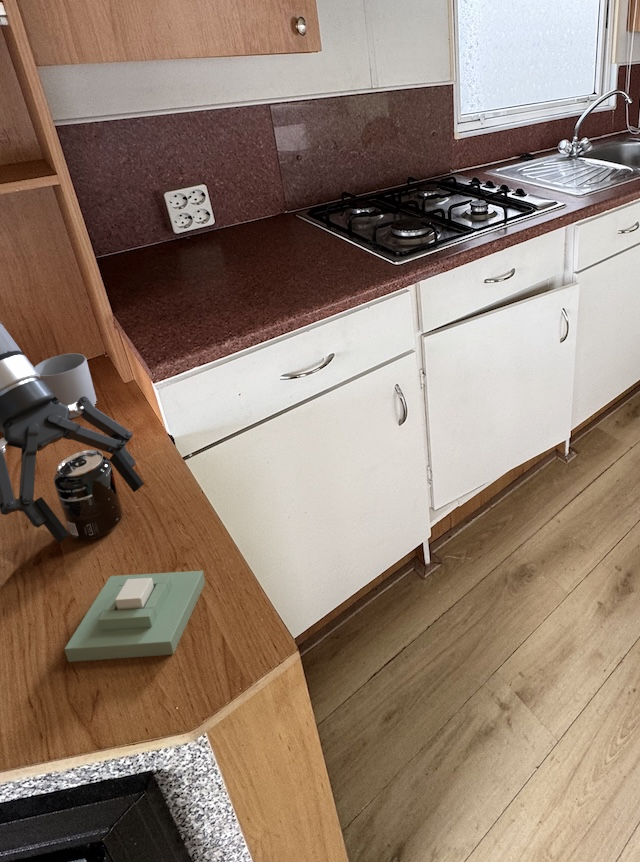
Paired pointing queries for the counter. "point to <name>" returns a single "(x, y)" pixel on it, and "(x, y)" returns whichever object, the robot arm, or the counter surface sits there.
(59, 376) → the cup
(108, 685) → the counter surface
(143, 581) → the small white rectangular block
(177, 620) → the tiered green stack
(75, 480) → the beverage can
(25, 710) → the counter surface
